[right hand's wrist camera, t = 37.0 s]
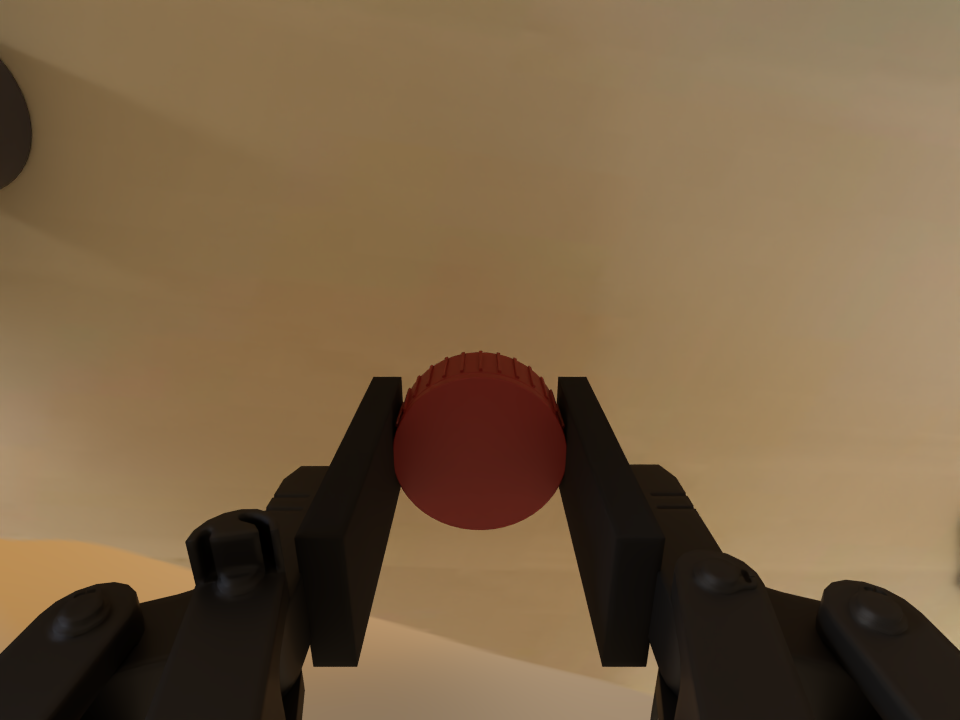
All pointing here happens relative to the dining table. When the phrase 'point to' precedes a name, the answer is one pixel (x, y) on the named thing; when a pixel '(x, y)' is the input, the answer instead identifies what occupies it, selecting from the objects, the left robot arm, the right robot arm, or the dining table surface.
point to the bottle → (12, 128)
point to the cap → (479, 442)
